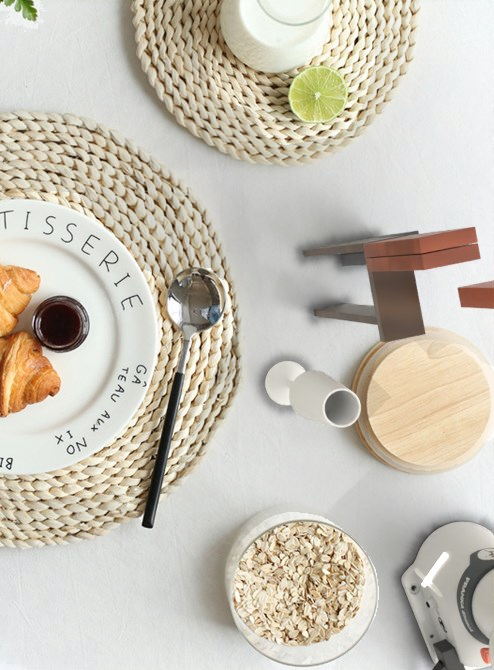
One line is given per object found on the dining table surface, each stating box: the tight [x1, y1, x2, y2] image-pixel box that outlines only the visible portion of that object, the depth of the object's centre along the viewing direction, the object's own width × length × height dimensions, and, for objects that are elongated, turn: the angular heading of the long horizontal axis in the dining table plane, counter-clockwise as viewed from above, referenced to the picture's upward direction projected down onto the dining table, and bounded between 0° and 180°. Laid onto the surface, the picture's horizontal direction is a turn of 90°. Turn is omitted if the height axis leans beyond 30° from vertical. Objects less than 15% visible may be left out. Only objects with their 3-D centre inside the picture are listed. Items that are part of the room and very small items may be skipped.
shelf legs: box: [302, 236, 397, 326], centre depth 111 cm, size 10×5×24 cm, turn 11°
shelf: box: [363, 226, 482, 343], centre depth 91 cm, size 12×6×16 cm, turn 11°
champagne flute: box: [264, 360, 362, 428], centre depth 111 cm, size 7×7×24 cm
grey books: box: [339, 230, 420, 267], centre depth 116 cm, size 3×6×15 cm, turn 101°
